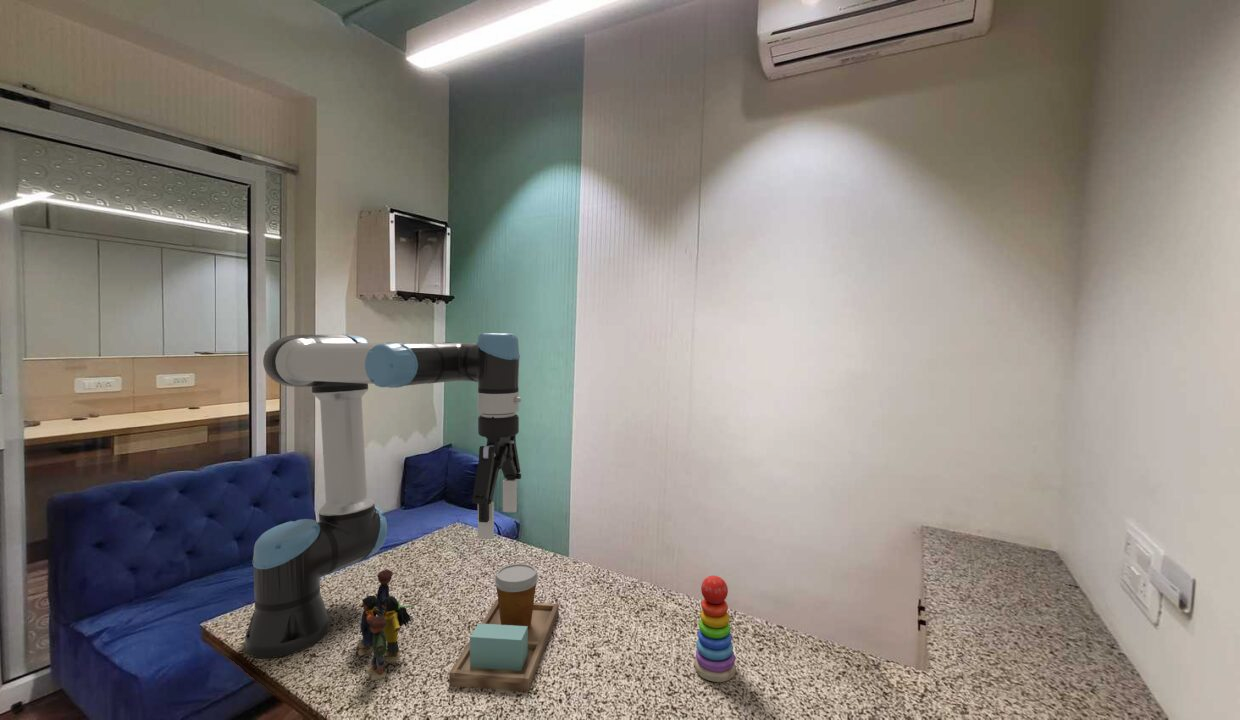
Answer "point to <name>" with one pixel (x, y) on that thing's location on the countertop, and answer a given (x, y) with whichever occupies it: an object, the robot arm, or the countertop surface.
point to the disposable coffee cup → (516, 593)
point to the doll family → (381, 626)
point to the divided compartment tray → (509, 679)
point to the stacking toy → (714, 634)
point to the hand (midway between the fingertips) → (498, 524)
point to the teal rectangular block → (499, 647)
